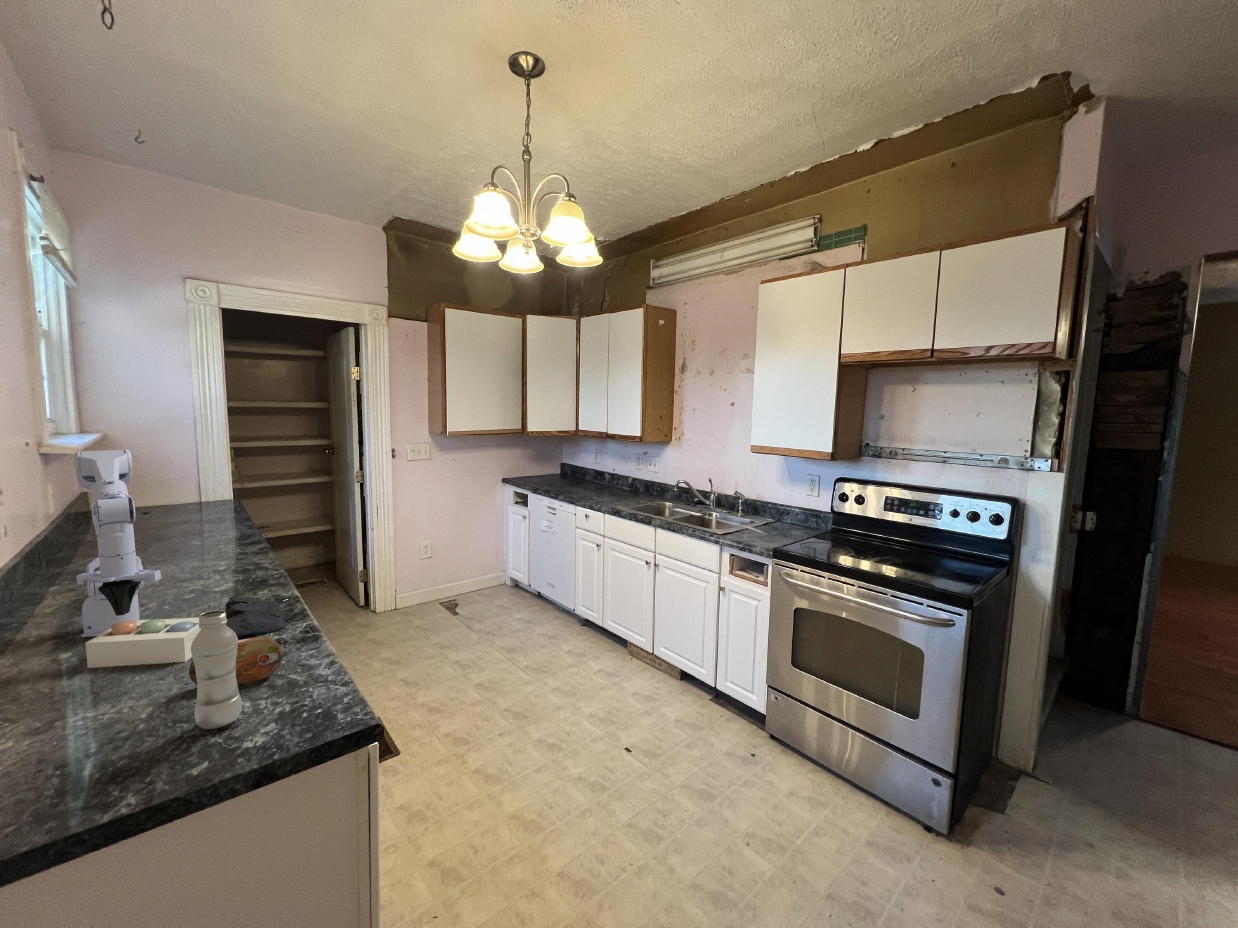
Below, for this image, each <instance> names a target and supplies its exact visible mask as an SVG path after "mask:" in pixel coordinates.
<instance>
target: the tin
mask: <svg viewBox="0 0 1238 928" xmlns="http://www.w3.org/2000/svg"><path fill="white" fill-rule="evenodd" d="M282 655H283V652H282V647H281V645H280V644H279V643H278V641H276V640H275V639H273V638H272V637H267V636H257V637H255V636H254V637H251V638H249V637H248V638H244V639H238V647H237V655H236V679H237V685H241V684H246V683H252V682H256V681H261V680H264V679H266V678H269V677H270V676H271V675H273V674H274V673H275V672H276V671H277V669H278V668H279V667H280V665H281V663H282ZM188 674H189V677H190V680H191V682H192V683H194V684H195V685H196V686H197V677H196V670H195V665H194V662H193V660H192V661H191V663H190V664H189V668H188Z"/></svg>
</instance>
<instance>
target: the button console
mask: <svg viewBox="0 0 1238 928" xmlns="http://www.w3.org/2000/svg"><path fill="white" fill-rule="evenodd" d="M149 620H150V619H140V620H139V621H136V626H137V630H136V631H134V632H133V633H131V634H129V635H114V636H112V631H111V629H109V630H108V631H106V632H104V633H102V634H100V635H99V636H94V637H93V638H92V639H90V640H88V641H86V642H85V643H84V645H85V651H86V652H85V654H86V663H87V665H86V666H87V669H93V668H108V667H124V666H126V665H127V666H138V665H139V666H140V665H141V666H143V665H155V664H156V665H157V664H170V663H171V664H172V663H173V662H175V663H187V661H188V660H190V659H192V654H191V645H192V642H193V640H194V639H195V637H196V636H197V634H198V633H199V632H200V630H201V628H199V617H186V618H185V617H182V618H164V620H165V629H164V630H162V631H161V632H159V633H151V634H141V627H140V625H141V624H142V623H143V622H146V621H149ZM186 621H190V622H193V628H191V629H190V630H189V631H187V632H170V628H169V627H170V626H171V625H173V624H176V623H179V622H186ZM142 664H143V665H142Z"/></svg>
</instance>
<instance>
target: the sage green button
mask: <svg viewBox="0 0 1238 928" xmlns="http://www.w3.org/2000/svg"><path fill="white" fill-rule="evenodd" d="M164 619H165V618H164ZM164 619H163V618H156V619H155V618H153V619H148V620H149V621H146V622H143V623H142V624H141V625H140V627H141V634H151V633H159V632H161V631H162V630H164V629H165V620H164Z"/></svg>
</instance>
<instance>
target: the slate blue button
mask: <svg viewBox="0 0 1238 928" xmlns="http://www.w3.org/2000/svg"><path fill="white" fill-rule="evenodd" d="M169 628H170V632H187V631H189V630H190V629H191V628H193V622H190V621H186V622H179V623H176V624H173V625H171V626H170V627H169Z"/></svg>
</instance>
